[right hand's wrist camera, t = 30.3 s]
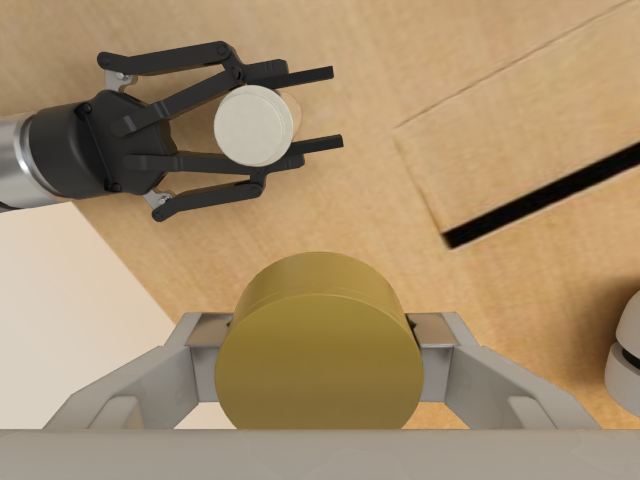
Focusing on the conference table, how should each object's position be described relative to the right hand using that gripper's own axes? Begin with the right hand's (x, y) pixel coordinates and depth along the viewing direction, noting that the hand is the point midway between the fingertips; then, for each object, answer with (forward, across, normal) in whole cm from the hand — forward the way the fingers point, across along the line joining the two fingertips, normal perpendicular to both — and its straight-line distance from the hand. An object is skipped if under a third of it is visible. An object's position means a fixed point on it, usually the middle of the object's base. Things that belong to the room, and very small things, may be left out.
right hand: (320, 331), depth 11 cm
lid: (-2, 0, 0) cm, 2 cm away
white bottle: (+28, +4, -5) cm, 29 cm away
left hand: (+22, -1, -6) cm, 23 cm away
